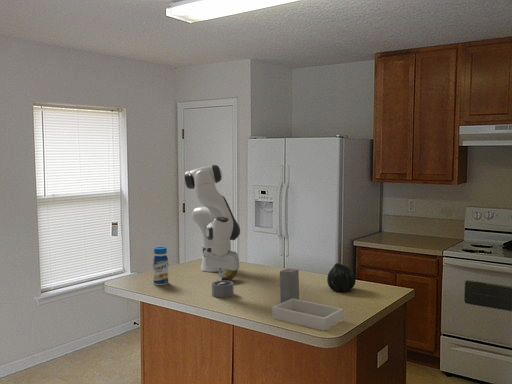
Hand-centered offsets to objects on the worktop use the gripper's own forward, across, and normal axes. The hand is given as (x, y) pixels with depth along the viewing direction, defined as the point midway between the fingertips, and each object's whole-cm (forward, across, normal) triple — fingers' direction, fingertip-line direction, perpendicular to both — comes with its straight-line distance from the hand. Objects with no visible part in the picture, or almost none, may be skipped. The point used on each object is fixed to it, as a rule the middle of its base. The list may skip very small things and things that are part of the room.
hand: (222, 276), depth 249 cm
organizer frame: (+10, -54, +6) cm, 55 cm away
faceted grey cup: (+9, 0, 0) cm, 9 cm away
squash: (+10, -44, -44) cm, 63 cm away
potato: (+10, +15, -22) cm, 28 cm away
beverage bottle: (+10, +42, +4) cm, 43 cm away
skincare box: (+10, -34, -10) cm, 37 cm away
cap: (+9, 0, 0) cm, 9 cm away
